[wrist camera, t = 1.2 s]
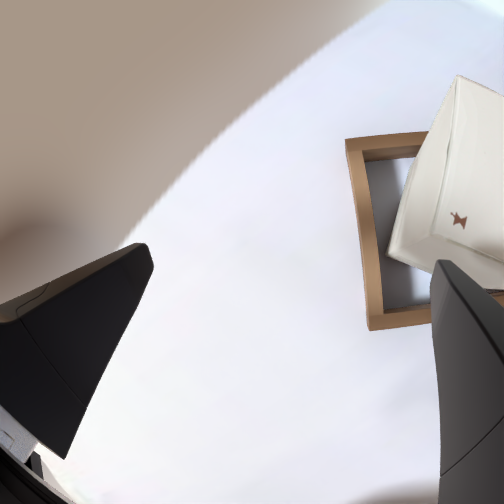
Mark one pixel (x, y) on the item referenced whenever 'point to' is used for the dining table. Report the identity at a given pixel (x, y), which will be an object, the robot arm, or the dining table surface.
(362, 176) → the brown wooden frame
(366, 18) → the dining table surface
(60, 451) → the robot arm
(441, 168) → the supplement box
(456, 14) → the dining table surface
